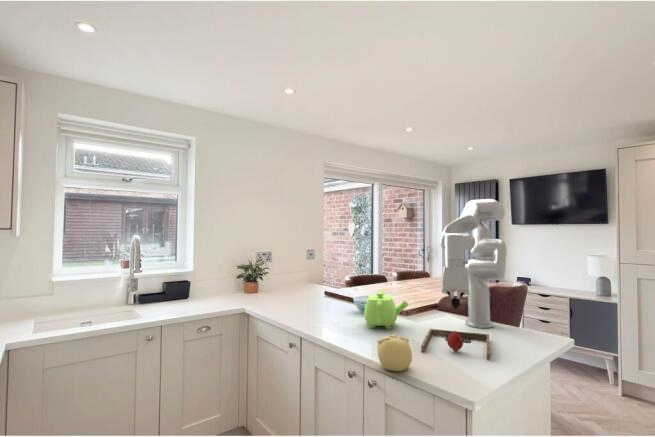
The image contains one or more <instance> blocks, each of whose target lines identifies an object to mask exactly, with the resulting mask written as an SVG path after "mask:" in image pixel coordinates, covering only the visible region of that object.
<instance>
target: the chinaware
mask: <svg viewBox="0 0 655 437" xmlns="http://www.w3.org/2000/svg"><path fill="white" fill-rule="evenodd" d="M369 296H370V295H359V296H354V297H353V303H354V305H355V307H356V308H357V309H358V310H360V312H361V313H362V314H364V311H365V306H366V303H367V300H368V298H369Z"/></svg>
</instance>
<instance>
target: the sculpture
mask: <svg viewBox="0 0 655 437" xmlns="http://www.w3.org/2000/svg"><path fill="white" fill-rule="evenodd" d="M409 342H410V339H409V338H406V337H404V336H399V335H396V334H389V335H388V336H386V337H382V338H380V339H379V338H378V340H377V357H378V361H379V363H380V365H381V367H382V368H384V369H386V370H388V371H392V372H402V371H405V370H407V369H409V367H411V364H412V360H413V353H412V349H411V346H410V344H409Z"/></svg>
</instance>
